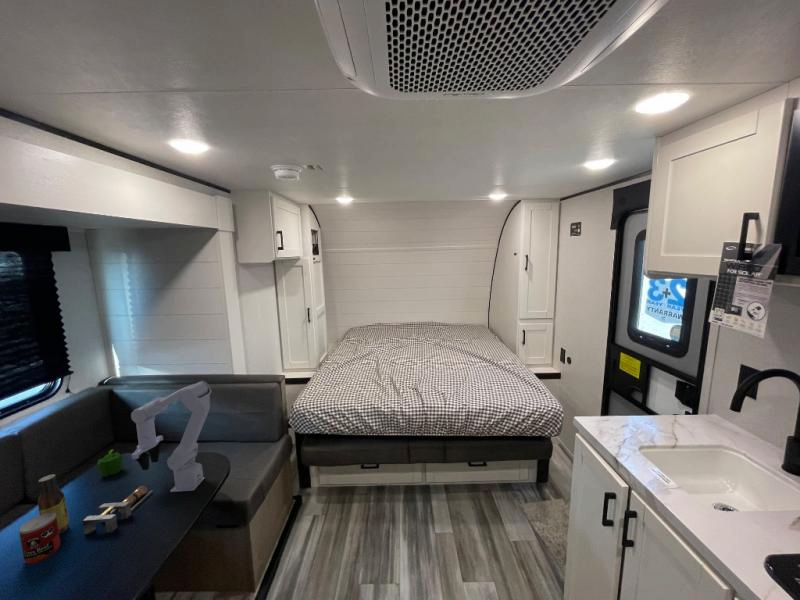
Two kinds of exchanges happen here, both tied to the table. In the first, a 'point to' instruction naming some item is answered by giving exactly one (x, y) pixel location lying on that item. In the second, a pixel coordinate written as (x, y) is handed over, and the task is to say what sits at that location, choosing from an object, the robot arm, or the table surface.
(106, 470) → the bell pepper
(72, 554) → the table surface
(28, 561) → the canned food
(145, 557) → the table surface
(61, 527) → the sauce bottle
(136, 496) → the tube
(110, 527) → the metal clamp tool
